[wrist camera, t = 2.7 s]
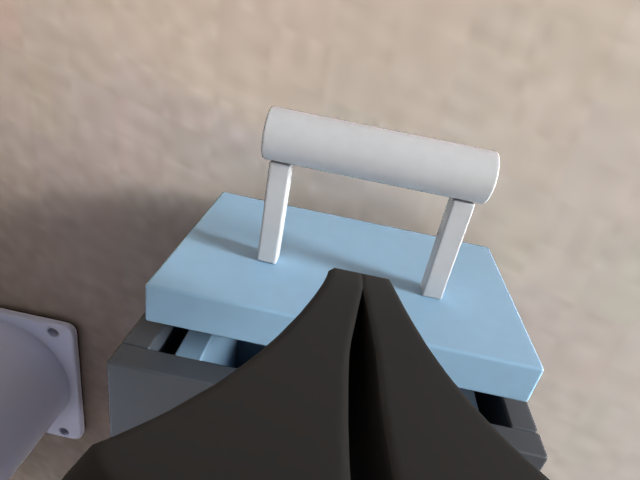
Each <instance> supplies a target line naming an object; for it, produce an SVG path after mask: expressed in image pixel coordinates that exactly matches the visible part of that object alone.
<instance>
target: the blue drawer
mask: <svg viewBox="0 0 640 480" xmlns="http://www.w3.org/2000/svg"><path fill="white" fill-rule="evenodd" d="M261 152H262V157H263V158H264V159H267V160H272V161H271V162H270V164H269V171H268V178H267V186H266V193H265V201H264V200H259V199H254V198H250V197H245V196H240V195H235V194H231V193H226V192H223V193H222V194H221V195H220V197H219V198H218V199H217V200H216V201H215V203H214V204H213V205H212V206H211V207H210V209H209V210H208V211H207V212H206V213H205V214H204V216H203V217H202V218H201V219H200V220H199V222H198V223H197V224H196V225H195V226H194V228H193V229H192V230H191V231H190V232H189V234H188V235H187V236H186V237H185V238H184V240H183V241H182V242H181V243H180V244H179V245H178V247H177V248H176V249H175V250H174V251H173V253H172V254H171V255H170V256H169V257H168V259H167V260H166V261H165V262H164V263H163V265H162V266H161V267H160V268H159V269H158V270H157V272H156V273H155V274H154V275H153V276H152V278H151V279H150V280H149V281H148V282H147V284H146V320H148V321H152V322H157V323H162V324H166V325H171V326H175V327H180V328H185V329H189V331H188V332H187V334H186V336H185V337H184V339H183V341H182V343H181V344H180V346H179V348H178V349H177V351H176V353H175V354H174V355H177V356H182V357H187V358H191V359H196V360H201V361H205V362H210V363H214V364H219V365H224V366H228V367H233V368H239V367H240V366H242V365H243V364H244V363H246V362H247V361H248V360H250V359H251V358H252V357H254V356H255V355H256V354H257V353H258V352H260V351H261V350H262V349H263V348H265V347H266V346H267V345H268V344H269V343H270V342H271V341H273V340H274V339H275V338H276V337H277V336H278V335H279V334H280V333H281V332H282V331H283V330H284V329H285V328H286V327H287V326H288V325H289V324H290V323H291V322H292V321H293V320H294V319H295V318H296V317H297V316H298V315H299V314H300V312H301V311H302V310H303V309H304V308H305V306H306V305H307V304H308V303H309V302H310V300H311V299H312V298H313V297H314V295H315V294H316V293H317V291H318V290H319V288H320V287H321V285H322V284H323V282H324V280H325V278H326V276H327V274H328V271H329V270H331V269H333V268H339V269H343V270H348V271H353V272H358V273H362V274H367V275H372V276H376V277H381V278H386V279H389V280H390V282H391V283H392V285H393V287H394V289H395V291H396V293H397V294H398V296H399V298H400V300H401V302H402V304H403V306H404V308H405V309H406V311H407V313H408V315H409V316H410V318H411V320H412V322H413V323H414V325H415V327H416V328H417V330H418V332H419V333H420V335H421V336H422V338H423V340H424V341H425V343H426V344H427V346H428V347H429V349H430V350H431V352H432V353H433V355H434V356H435V358H436V359H437V360H438V362H439V363H440V365H441V366H442V367H443V369H444V370H445V371H446V373H447V374H448V375H449V377H450V378H451V379H452V380H453V382H454V383H455V384H456V385H457V387H458V388H459V389H460V390H461V391H462V392H463V394H464V395H465V396H466V397H467V398H468V399H469V401H470V402H471V403H472V404H473V405H474V406H475V408H476V409H477V410H478V406H477V402H476V398H475V394H474V391H477V392H481V393H486V394H491V395H495V396H500V397H504V398H509V399H514V400H518V401H523V402H527V401H528V400H529V398H530V396H531V394H532V392H533V390H534V388H535V386H536V384H537V382H538V381H539V379H540V377H541V375H542V373H543V366H542V364H541V362H540V360H539V358H538V355H537V353H536V351H535V349H534V347H533V344H532V342H531V340H530V338H529V336H528V333H527V331H526V329H525V327H524V325H523V322H522V320H521V318H520V316H519V314H518V311H517V309H516V307H515V305H514V303H513V301H512V298H511V296H510V294H509V292H508V290H507V287H506V285H505V283H504V281H503V279H502V276H501V274H500V272H499V270H498V268H497V265H496V263H495V261H494V259H493V257H492V254H491V252H490V250H489V248H488V247H484V246H479V245H474V244H469V243H465V242H462V240H463V237H464V234H465V232H466V229H467V226H468V223H469V220H470V218H471V215H472V212H473V209H474V207H475V205H474V203H479V204H483V203H486V202H487V201H488V199H489V198H490V196H491V195H492V193H493V190H494V188H495V185H496V182H497V179H498V175H499V169H500V157H499V154H498V153H497V152H495V151H491V150H486V149H481V148H476V147H471V146H466V145H462V144H457V143H452V142H447V141H442V140H437V139H432V138H427V137H423V136H418V135H413V134H408V133H403V132H398V131H393V130H388V129H384V128H379V127H374V126H369V125H364V124H359V123H354V122H349V121H345V120H340V119H335V118H330V117H325V116H320V115H315V114H310V113H306V112H301V111H296V110H291V109H286V108H281V107H276V106H272V107H271V108H270V110H269V112H268V114H267V117H266V121H265V125H264V130H263V136H262V146H261ZM294 165H296V166H301V167H306V168H311V169H316V170H320V171H325V172H330V173H335V174H340V175H344V176H349V177H354V178H359V179H364V180H368V181H373V182H378V183H383V184H388V185H393V186H397V187H402V188H407V189H412V190H417V191H421V192H426V193H431V194H436V195H441V196H446V197H449V200H448V203H447V206H446V209H445V212H444V215H443V218H442V221H441V224H440V227H439V230H438V233H437V236H431V235H426V234H422V233H417V232H412V231H407V230H402V229H398V228H393V227H388V226H383V225H379V224H374V223H369V222H364V221H359V220H355V219H350V218H345V217H340V216H336V215H331V214H326V213H321V212H316V211H312V210H307V209H302V208H297V207H293V206H288V205H287V204H288V198H289V191H290V185H291V179H292V172H293V166H294ZM473 202H474V203H473ZM478 411H479V410H478Z"/></svg>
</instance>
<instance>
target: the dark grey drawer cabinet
mask: <svg viewBox="0 0 640 480" xmlns="http://www.w3.org/2000/svg"><path fill="white" fill-rule="evenodd" d="M188 331H189V329H185V328H180V327H175V326H171V325H166V324H162V323H157V322H152V321H148V320H146V312H145V313H144V314H143V316H142V317H141V318H140V320H139V321H138V322H137V324H136V325H135V326H134V328H133V329H132V330H131V331H130V333H129V334H128V335H127V337H126V338H125V339H124V341H123V342H122V344H121V345H120V346H119V347H118V349H117V350H116V351H115V352H114V354H113V355H112V356H111V358H110V359H109V360H108V362H107V368H108V391H109V413H110V435H111V437H113V436H115V435H118V434H120V433H122V432H124V431H126V430H129V429H131V428H133V427H135V426H137V425H140V424H142V423H144V422H146V421H149V420H151V419H153V418H155V417H157V416H159V415H161V414H163V413H165V412H167V411H169V410H170V409H172V408H174V407H176V406H178V405H179V404H181V403H183V402H185V401H186V400H188V399H190V398H192V397H193V396H195V395H197V394H199V393H200V392H202V391H204V390H206V389H208V388H209V387H211V386H212V385H214V384H216V383H217V382H219V381H220V380H222V379H223V378H225V377H226V376H228V375H229V374H230V373H232V372H233V371H235V370H236V369H237V368H233V367H228V366H224V365H219V364H214V363H210V362H205V361H201V360H196V359H191V358H187V357H182V356H177V355H174V354H175V353H176V351H177V349H178V348H179V346H180V344H181V343H182V341H183V339H184V337H185V336H186V334H187V332H188ZM474 394H475V398H476V402H477V406H478V410H479V412H480V413H481V414H482V415H483V416H484V417H485V418H486V420H487V421H488V422H489V423H490V424H491V425H492V426H493V427H494V428H495V429H496V430H497V431H498V432H499V433H500V434H501V435H502V436H503V437H504V438H505V439H506V440H507V441H508V442H509V443H510V444H511V445H512V446H513V447H514V448H515V449H516V450H517V451H518V452H519V453H520V454H521V455H523V456H524V457H525V458H526V459H527V460H528V461H529V462H530V463H531V464H532V465H534V466H535V467H536V468H537V469H538V470H539V471H540V470H541V469H542V467H543V465H544V464H545V462H546V460H547V454H546V452H545V449H544V446H543V444H542V441H541V438H540V436H539V434H537V428H536V426H535V423H534V420H533V418H532V415H531V412H530V410H529V407H528V404H527V402H523V401H518V400H514V399H509V398H504V397H500V396H495V395H491V394H486V393H481V392H477V391H474Z"/></svg>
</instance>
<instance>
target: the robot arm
mask: <svg viewBox="0 0 640 480" xmlns="http://www.w3.org/2000/svg"><path fill="white" fill-rule="evenodd" d="M84 432H85V426H84V413H83V401H82V388H81V376H80V364H79V351H78V339H77V331H76V328H75V327H74V326H73V325H72V324H70V323H68V322H64V321H59V320H54V319H50V318H45V317H40V316H36V315H31V314H27V313H22V312H17V311H13V310H8V309H4V308H0V480H9V479H10V478H11V476H12V475H13V474H14V473H15V471H16V470H17V469H18V467H19V466H20V465H21V464H22V462H23V461H24V460H25V458H26V457H27V456H28V455H29V453H30V452H31V451H32V450H33V448H34V447H35V446H36V444H37V443H38V442H39V441H40V439H41V438H42V437H43V435H44V434H45V433H49V434H54V435H58V436H63V437H67V438H72V439H79V438H81V437H82V435H83V434H84ZM62 480H549V479H548V478H547V477H546V476H545V475H543V474H542V473H541V472H540V471H539V470H538V469H537V468H536V467H535V466H534V465H532V464H531V463H530V462H529V461H528V460H527V459H526V458H525V457H524V456H523V455H521V454H520V453H519V452H518V451H517V450H516V449H515V448H514V447H513V446H512V445H511V444H510V443H509V442H508V441H507V440H506V439H505V438H504V437H503V436H502V435H501V434H500V433H499V432H498V431H497V430H496V429H495V428H494V427H493V426H492V425H491V424H490V423H489V422H488V421H487V420H486V418H485V417H484V416H483V415H482V414H481V413H480V412H479V411H478V410H477V409H476V408H475V406H474V405H473V404H472V403H471V402H470V401H469V399H468V398H467V397H466V396H465V395H464V394H463V392H462V391H461V390H460V389H459V388H458V387H457V385H456V384H455V383H454V382H453V380H452V379H451V378H450V377H449V375H448V374H447V373H446V371H445V370H444V369H443V367H442V366H441V365H440V363H439V362H438V360H437V359H436V358H435V356H434V355H433V353H432V352H431V350H430V349H429V347H428V346H427V344H426V343H425V341H424V340H423V338H422V336H421V335H420V333H419V332H418V330H417V328H416V327H415V325H414V323H413V322H412V320H411V318H410V316H409V315H408V313H407V311H406V309H405V308H404V306H403V304H402V302H401V300H400V298H399V296H398V294H397V293H396V291H395V289H394V287H393V285H392V283H391V282H390V280H389V279H386V278H381V277H376V276H372V275H367V274H362V273H358V272H353V271H348V270H343V269H339V268H333V269H331V270H329V271H328V274H327V276H326V278H325V280H324V282H323V284H322V285H321V287H320V288H319V290H318V291H317V293H316V294H315V295H314V297H313V298H312V299H311V300H310V302H309V303H308V304H307V305H306V306H305V308H304V309H303V310H302V311H301V312H300V314H299V315H298V316H297V317H296V318H295V319H294V320H293V321H292V322H291V323H290V324H289V325H288V326H287V327H286V328H285V329H284V330H283V331H282V332H281V333H280V334H279V335H278V336H277V337H276V338H275V339H274V340H273V341H271V342H270V343H269V344H268V345H267V346H266V347H265V348H263V349H262V350H261V351H260V352H258V353H257V354H256V355H255V356H254V357H252V358H251V359H250V360H248V361H247V362H246V363H244V364H243V365H242V366H240V367H239V368H237V369H236V370H235V371H233V372H232V373H230V374H229V375H228V376H226V377H225V378H223V379H222V380H220V381H219V382H217V383H216V384H214V385H212V386H211V387H209V388H208V389H206V390H204V391H202V392H200V393H199V394H197V395H195V396H193V397H192V398H190V399H188V400H186V401H185V402H183V403H181V404H179V405H178V406H176V407H174V408H172V409H170V410H169V411H167V412H165V413H163V414H161V415H159V416H157V417H155V418H153V419H151V420H149V421H146V422H144V423H142V424H140V425H137V426H135V427H133V428H131V429H129V430H126V431H124V432H122V433H120V434H118V435H115V436H113V437H111V438H109V439H106V440H104V441H101V442H99V443H96V444H94V445H92V446H91V447H90V448H89V449H88V450H87V451H86V452H85V453H84V454H83V456H82V457H81V458H80V459H79V460H78V461H77V462H76V464H75V465H74V466H73V467H72V468H71V469H70V470H69V471H68V473H67V474H66V475H65V476H64V478H63V479H62Z"/></svg>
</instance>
